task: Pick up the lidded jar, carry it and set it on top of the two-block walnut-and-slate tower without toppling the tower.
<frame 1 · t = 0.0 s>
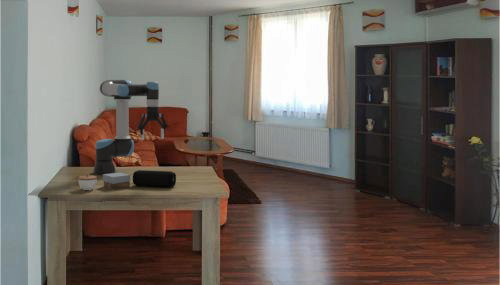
hand: (152, 139, 370), 28 cm above the table, fingers open, 13 cm apart
tower base: (116, 187, 358), on the table, touching tower top
tower top: (116, 181, 357), point 4 cm above the table, touching tower base
portable speaker: (154, 186, 361), on the table
lidded jar: (87, 189, 348), on the table
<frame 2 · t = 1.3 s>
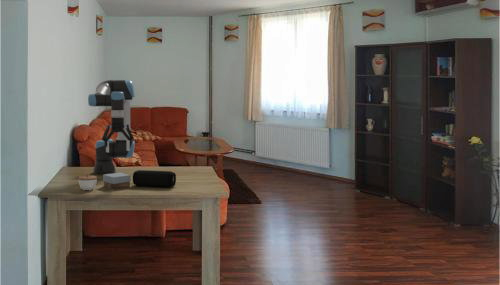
hand: (117, 151, 357), 22 cm above the table, fingers open, 13 cm apart
tower base: (116, 187, 358), on the table
tower top: (116, 181, 357), point 4 cm above the table
everything else where it was.
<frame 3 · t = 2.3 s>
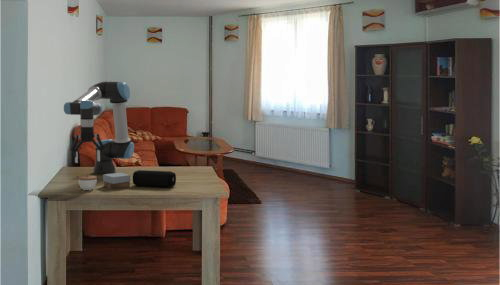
hand: (87, 161, 346), 17 cm above the table, fingers open, 13 cm apart
tower base: (116, 187, 358), on the table, touching tower top
tower top: (116, 181, 357), point 4 cm above the table, touching tower base
everything else where it was.
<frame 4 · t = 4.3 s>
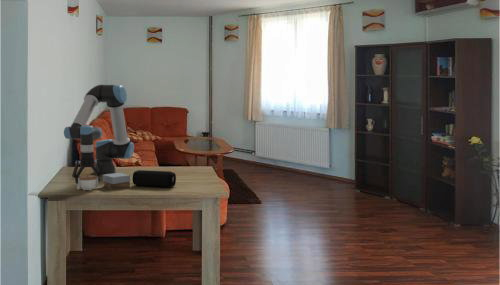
hand: (87, 187, 348), 1 cm above the table, fingers closed on lidded jar, 11 cm apart
lidded jar: (87, 189, 348), on the table, touching gripper
everything else where it was.
when the fingers open (10 cm above the table, at t = 8.6 s): lidded jar drops 2 cm, resting on tower top.
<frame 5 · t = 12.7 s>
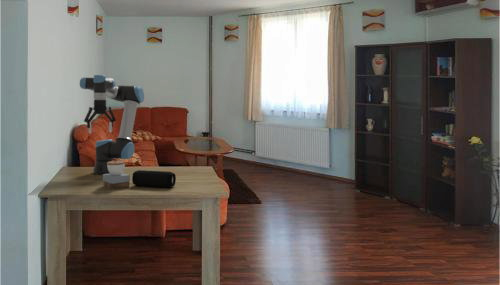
hand: (100, 132, 370), 32 cm above the table, fingers open, 13 cm apart
tower top: (116, 181, 357), point 4 cm above the table, touching tower base, lidded jar
lidded jar: (116, 174, 357), point 8 cm above the table, touching tower top
at the end: lidded jar 0.5 cm from the tower top (horizontally); lidded jar point 7.5 cm above the table; tower top moved 0.5 cm from its start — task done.
